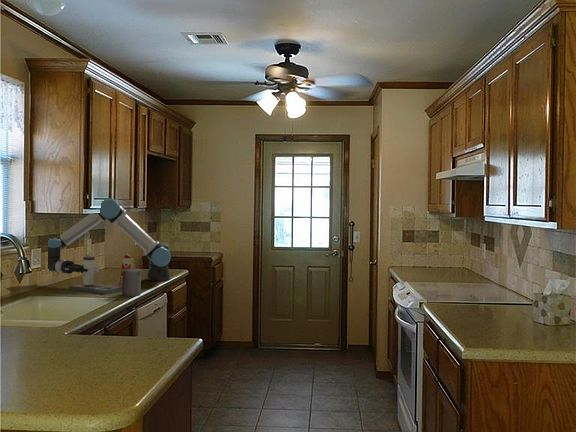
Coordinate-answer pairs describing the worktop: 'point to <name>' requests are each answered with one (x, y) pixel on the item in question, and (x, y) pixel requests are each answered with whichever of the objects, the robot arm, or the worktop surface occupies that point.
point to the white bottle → (88, 277)
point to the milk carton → (126, 267)
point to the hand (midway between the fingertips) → (95, 270)
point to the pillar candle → (131, 282)
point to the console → (96, 288)
